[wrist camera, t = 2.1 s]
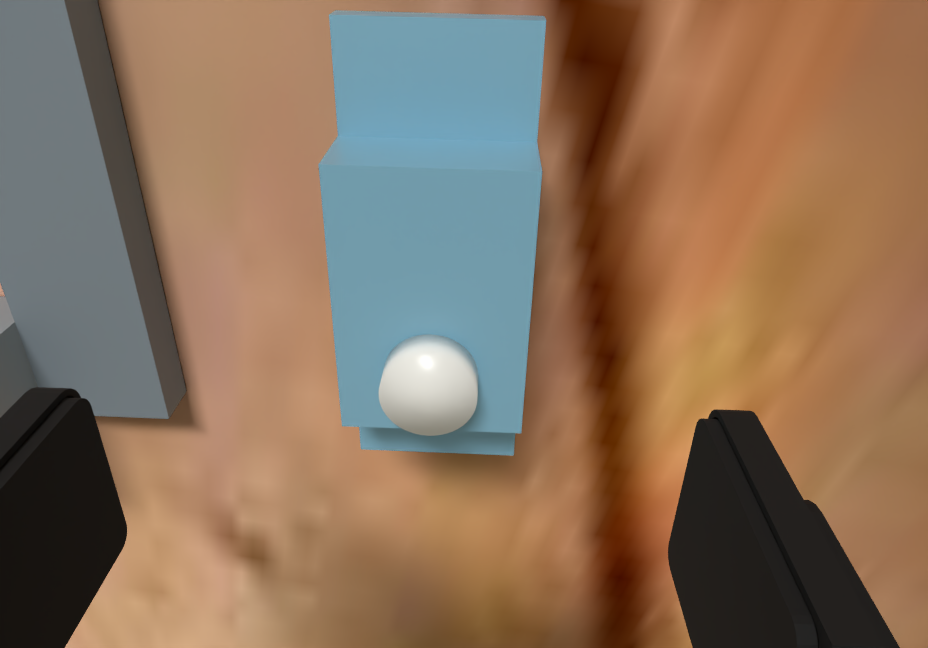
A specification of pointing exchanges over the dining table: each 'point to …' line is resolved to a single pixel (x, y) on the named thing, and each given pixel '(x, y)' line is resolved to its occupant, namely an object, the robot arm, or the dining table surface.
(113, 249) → the block
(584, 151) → the dining table surface
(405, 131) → the block
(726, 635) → the robot arm
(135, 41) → the dining table surface
